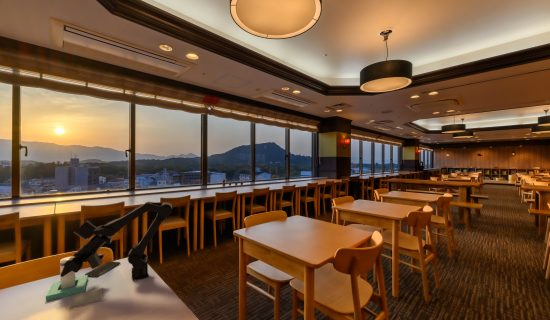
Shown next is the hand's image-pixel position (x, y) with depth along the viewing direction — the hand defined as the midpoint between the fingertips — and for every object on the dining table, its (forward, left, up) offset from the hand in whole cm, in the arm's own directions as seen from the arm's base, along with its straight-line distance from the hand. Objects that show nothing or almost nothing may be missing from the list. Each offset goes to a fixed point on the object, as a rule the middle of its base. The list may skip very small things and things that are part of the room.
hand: (63, 273), depth 105 cm
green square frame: (-1, 0, -7) cm, 8 cm away
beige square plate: (-9, +13, -7) cm, 18 cm away
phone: (-13, -14, -8) cm, 21 cm away
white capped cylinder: (-1, 0, -7) cm, 7 cm away
